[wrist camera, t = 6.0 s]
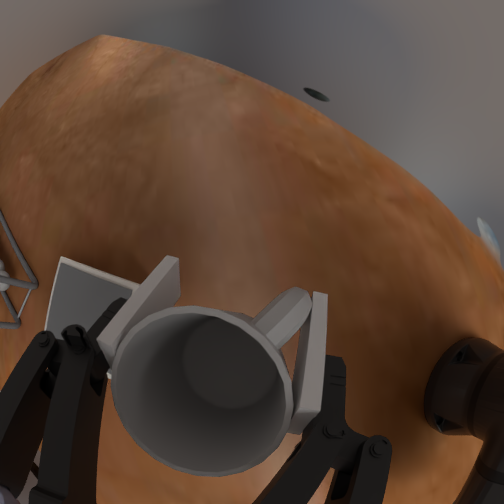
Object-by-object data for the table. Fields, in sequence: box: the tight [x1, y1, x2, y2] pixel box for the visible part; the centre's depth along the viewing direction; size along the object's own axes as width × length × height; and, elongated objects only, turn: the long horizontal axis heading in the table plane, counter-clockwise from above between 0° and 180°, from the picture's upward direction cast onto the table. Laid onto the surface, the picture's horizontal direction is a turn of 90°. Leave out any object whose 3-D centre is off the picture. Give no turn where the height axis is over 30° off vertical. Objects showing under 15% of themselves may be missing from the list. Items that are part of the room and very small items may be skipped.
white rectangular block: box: [44, 256, 141, 379], centre depth 30 cm, size 14×12×6 cm
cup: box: [111, 287, 313, 477], centre depth 13 cm, size 7×10×9 cm
